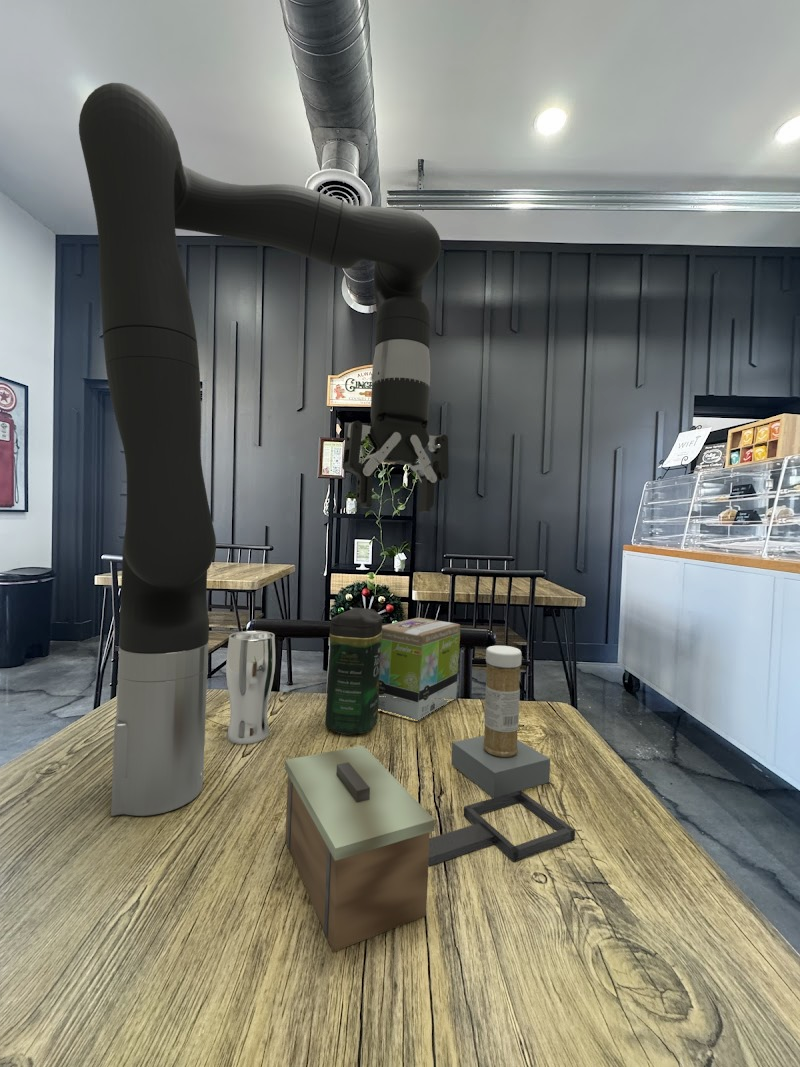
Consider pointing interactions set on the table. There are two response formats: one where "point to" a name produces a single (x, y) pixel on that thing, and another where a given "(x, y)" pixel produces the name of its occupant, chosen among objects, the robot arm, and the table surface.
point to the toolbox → (357, 844)
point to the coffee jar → (354, 671)
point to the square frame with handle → (487, 835)
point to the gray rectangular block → (500, 767)
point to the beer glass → (249, 684)
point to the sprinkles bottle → (502, 700)
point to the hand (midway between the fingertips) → (395, 509)
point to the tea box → (418, 666)
